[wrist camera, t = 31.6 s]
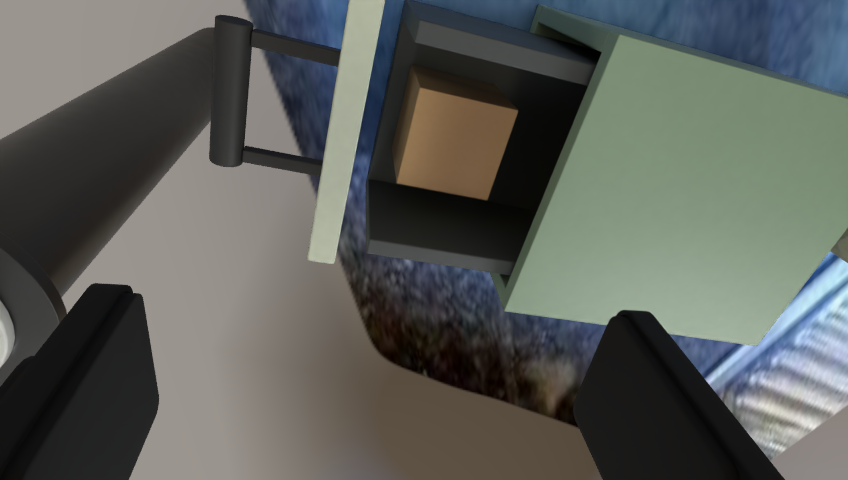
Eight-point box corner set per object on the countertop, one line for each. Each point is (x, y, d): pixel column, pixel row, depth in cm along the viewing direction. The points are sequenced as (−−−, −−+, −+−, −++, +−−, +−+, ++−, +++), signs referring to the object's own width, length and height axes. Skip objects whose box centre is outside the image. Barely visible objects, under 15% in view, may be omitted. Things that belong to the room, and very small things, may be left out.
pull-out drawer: (230, 170, 28) (188, 243, 21) (246, -64, 22) (195, -65, 15) (534, 225, 31) (580, 301, 25) (611, 38, 26) (696, 72, 19)
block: (391, 148, 27) (396, 183, 23) (411, 64, 25) (419, 86, 21) (470, 164, 28) (487, 201, 24) (495, 84, 26) (519, 110, 22)
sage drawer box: (467, 215, 32) (503, 311, 23) (538, 3, 26) (619, 33, 17) (664, 250, 35) (757, 346, 27) (768, 69, 29) (929, 121, 21)
